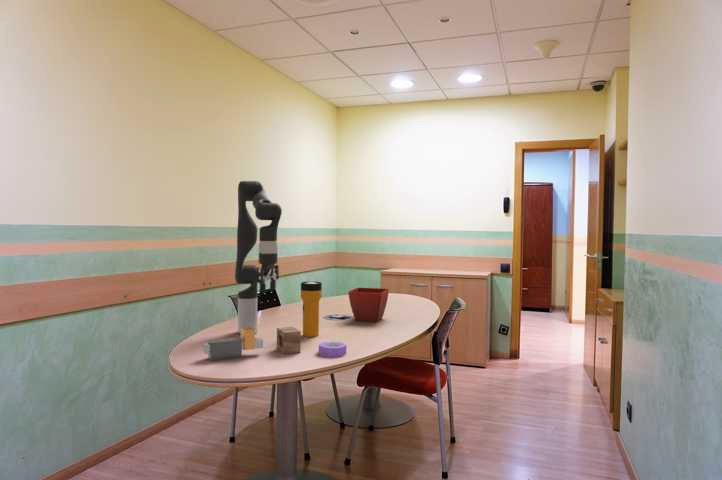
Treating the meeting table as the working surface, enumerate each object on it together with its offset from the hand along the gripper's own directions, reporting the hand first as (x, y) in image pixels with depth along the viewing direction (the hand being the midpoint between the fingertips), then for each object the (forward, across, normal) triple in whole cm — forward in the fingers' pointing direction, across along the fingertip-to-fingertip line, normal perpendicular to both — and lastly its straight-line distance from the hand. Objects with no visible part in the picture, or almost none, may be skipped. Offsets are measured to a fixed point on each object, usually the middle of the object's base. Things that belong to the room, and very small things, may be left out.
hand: (267, 291), depth 203 cm
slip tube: (+23, +8, -11) cm, 27 cm away
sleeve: (+26, +10, -13) cm, 31 cm away
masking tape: (+26, -12, +24) cm, 38 cm away
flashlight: (+26, -39, +2) cm, 47 cm away
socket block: (+26, -9, +5) cm, 28 cm away
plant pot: (+26, -88, +17) cm, 93 cm away
